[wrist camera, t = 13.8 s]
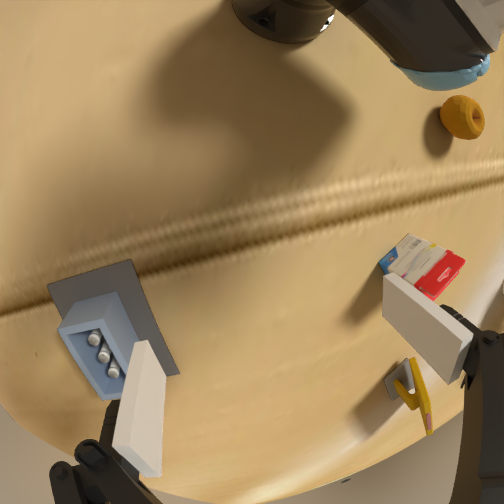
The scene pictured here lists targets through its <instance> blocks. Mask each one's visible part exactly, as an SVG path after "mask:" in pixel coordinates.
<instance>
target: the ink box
mask: <svg viewBox="0 0 504 504" xmlns="http://www.w3.org/2000/svg"><path fill="white" fill-rule="evenodd" d="M465 263H466V260H465V259H463V258H461V257H459V256H457V255H455V254H454V252H452V251H450V250H447V249H445V248H443V247H440V246H438V245H436V244H434V243H431V242H429V241H427V240H424V239H422V238H420V237H418V236H415V235H413V234H410V233H409V234H408V235H407V236H406V237H405V238H404V239H403V240H402V241H401V242H399V243H398V244H397V245H396V246H395V247H394V248H393V249H392V250H391V251H390V252H389V253H388V254H387V255H386V256H385V257H384V258H383V259H382V260H380V261H379V264H380V266H381V268H382V270H383V271H384V273H385V275H387V274H390V273H393V272H394V273H396V274H397V275H398V276H400V277H401V278H403V279H404V280H405V281H407V282H408V283H409V284H411V285H412V286H413V287H415V288H416V289H417V290H419V291H420V292H421V293H423V294H424V295H425V296H427V297H428V298H429V299H431V300H432V301H434V300H435V299H436V298H437V297H438V296H439V295H440V293H441V292H442V291H443V290H444V289H445V288H446V287H447V286H448V285H449V284H450V282H451V281H452V280H453V279H454V278H455V277H456V276H457V275H458V273H459V270H460V268H461V267H462V266H463V265H464V264H465Z"/></svg>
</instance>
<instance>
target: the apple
mask: <svg viewBox="0 0 504 504" xmlns="http://www.w3.org/2000/svg"><path fill="white" fill-rule="evenodd" d="M440 119H441V122H442V124H443V125H444V126H445V127H446V128H447V130H448V131H449V132H450V133H451V134H452V135H454V136H455V137H457V138H460V139H466V140H471V139H476V138H477V137H479V136H480V134H481V133H482V131H483V129H484V124H485V121H484V115H483V112H482V109H481V107H480V106H479V104H478V103H477V102H476V101H474V100H473V99H471V98H469V97H466V96H463V95H456V96H452V97H450V98H449V99H448V100H447V101H446V102H445V103H444V104H443V106H442V107H441V109H440Z"/></svg>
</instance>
